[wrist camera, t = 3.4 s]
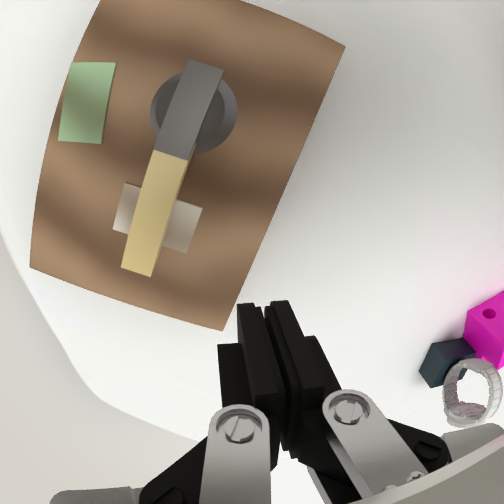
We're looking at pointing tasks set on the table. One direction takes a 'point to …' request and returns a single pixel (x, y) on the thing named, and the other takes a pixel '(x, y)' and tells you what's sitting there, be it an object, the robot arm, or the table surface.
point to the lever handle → (172, 158)
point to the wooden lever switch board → (203, 158)
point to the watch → (453, 369)
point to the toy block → (487, 330)
